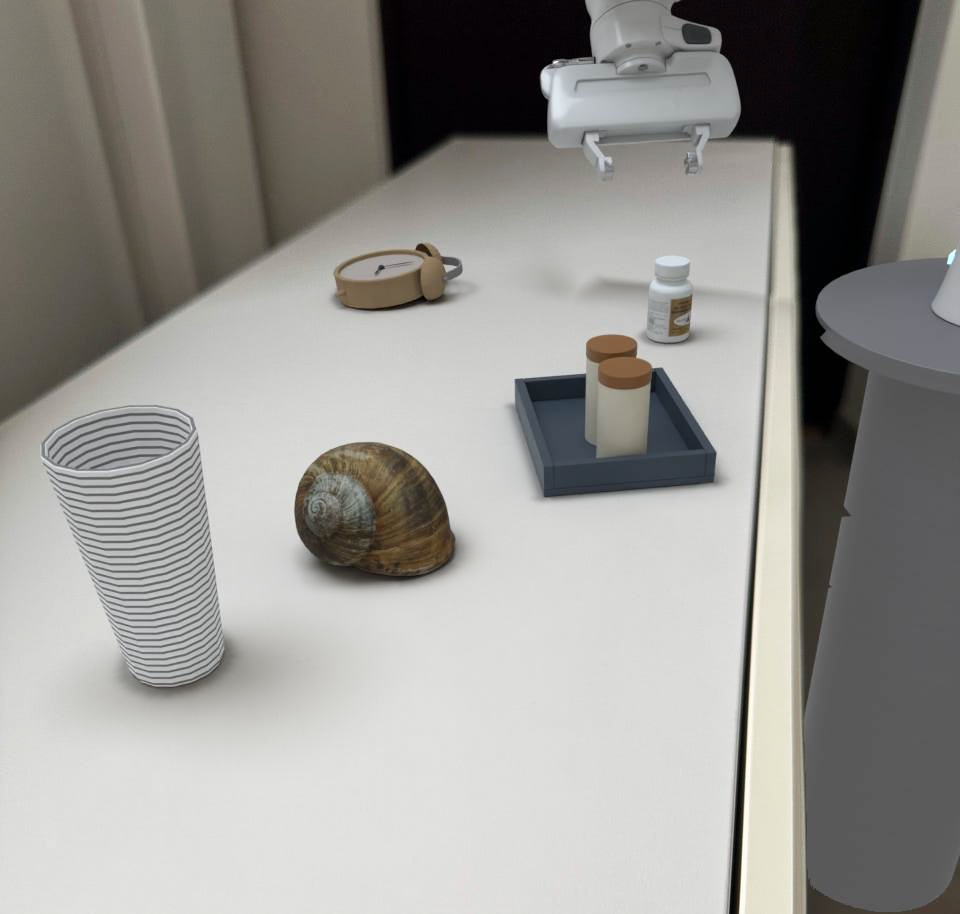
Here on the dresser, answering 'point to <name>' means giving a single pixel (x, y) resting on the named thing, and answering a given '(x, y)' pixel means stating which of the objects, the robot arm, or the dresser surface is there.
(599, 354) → the matching bottles
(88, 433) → the cup
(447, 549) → the seashell
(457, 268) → the alarm clock
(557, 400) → the tray
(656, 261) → the pill bottle
